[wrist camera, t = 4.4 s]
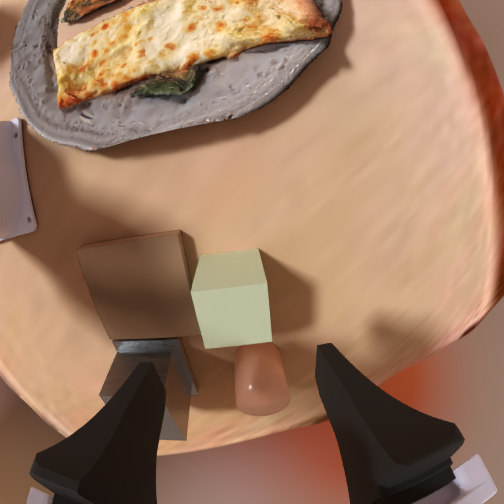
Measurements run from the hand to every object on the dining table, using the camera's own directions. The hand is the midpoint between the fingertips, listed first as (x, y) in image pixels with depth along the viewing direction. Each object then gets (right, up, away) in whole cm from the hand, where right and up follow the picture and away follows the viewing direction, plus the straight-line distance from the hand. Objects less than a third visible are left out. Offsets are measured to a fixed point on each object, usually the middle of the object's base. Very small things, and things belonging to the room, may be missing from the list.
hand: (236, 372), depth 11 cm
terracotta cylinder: (+1, -4, +11) cm, 12 cm away
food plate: (-6, +23, +1) cm, 24 cm away
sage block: (-1, +3, +8) cm, 9 cm away
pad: (-8, +3, +8) cm, 11 cm away
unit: (-8, -5, +11) cm, 14 cm away
